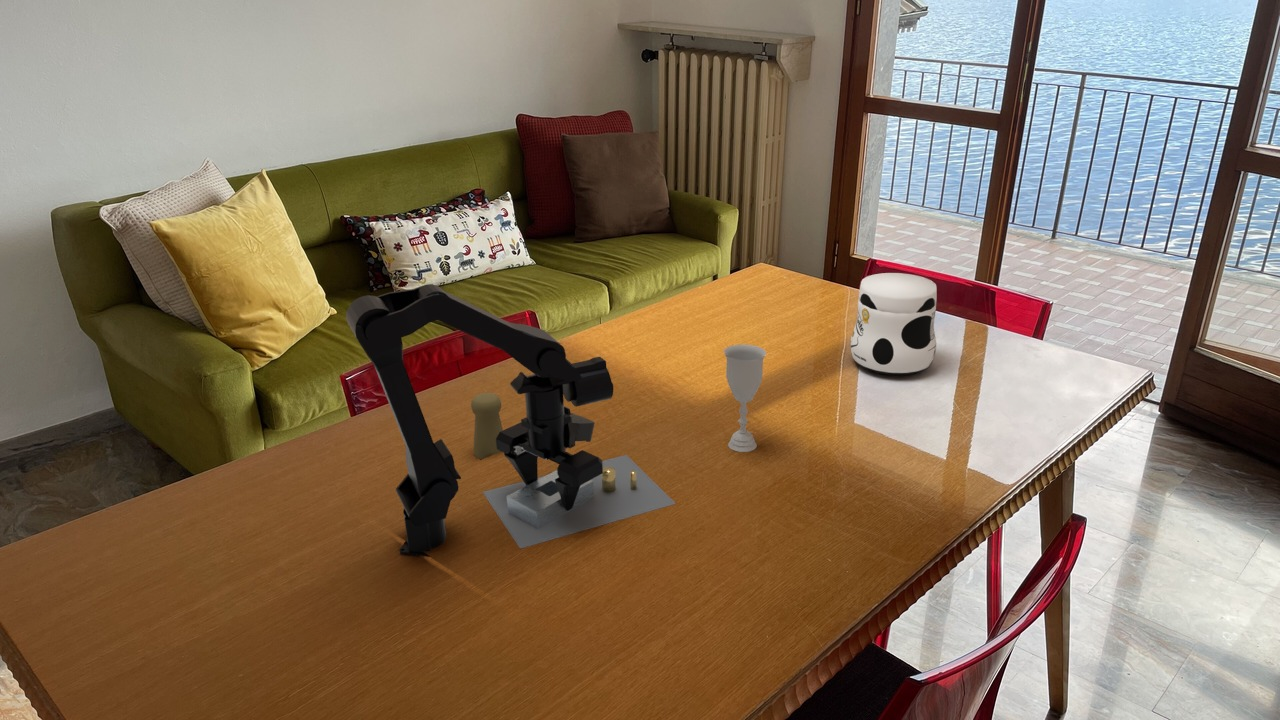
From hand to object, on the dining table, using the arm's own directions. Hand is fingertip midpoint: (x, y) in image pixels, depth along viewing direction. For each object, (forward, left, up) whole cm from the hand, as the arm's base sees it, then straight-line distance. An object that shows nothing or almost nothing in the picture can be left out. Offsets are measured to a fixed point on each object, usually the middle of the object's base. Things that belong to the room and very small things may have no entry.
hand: (551, 500), depth 149 cm
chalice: (+26, -28, -2) cm, 38 cm away
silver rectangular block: (0, 0, -1) cm, 1 cm away
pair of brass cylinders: (+6, -10, -1) cm, 12 cm away
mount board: (+3, -4, -2) cm, 5 cm away
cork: (+17, +16, -2) cm, 23 cm away
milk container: (+66, -56, -2) cm, 87 cm away
